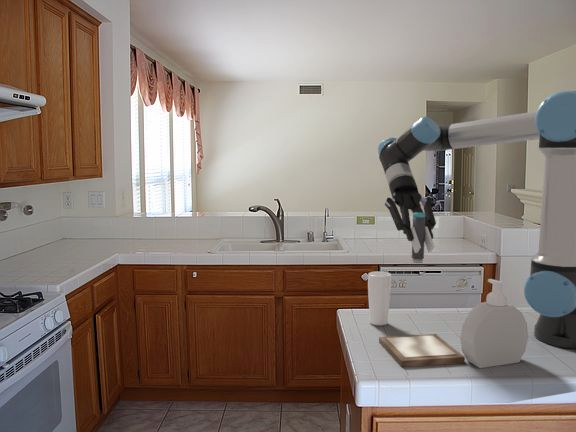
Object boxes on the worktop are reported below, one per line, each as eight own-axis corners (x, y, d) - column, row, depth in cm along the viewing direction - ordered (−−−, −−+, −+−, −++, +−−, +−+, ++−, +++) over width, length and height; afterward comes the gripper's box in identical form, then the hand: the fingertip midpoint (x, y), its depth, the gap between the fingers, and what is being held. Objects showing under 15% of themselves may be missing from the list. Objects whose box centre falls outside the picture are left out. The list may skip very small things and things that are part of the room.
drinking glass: (390, 327, 149) (391, 277, 147) (366, 326, 150) (367, 275, 148) (390, 320, 155) (391, 271, 153) (367, 318, 157) (368, 270, 155)
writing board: (435, 339, 140) (435, 333, 139) (464, 362, 124) (464, 356, 124) (378, 342, 137) (379, 336, 137) (401, 366, 121) (401, 360, 121)
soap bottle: (511, 353, 130) (516, 276, 127) (527, 361, 125) (532, 281, 122) (457, 361, 125) (461, 281, 123) (471, 370, 120) (475, 286, 118)
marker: (420, 260, 141) (422, 212, 139) (425, 263, 138) (427, 213, 136) (409, 261, 140) (411, 212, 139) (414, 263, 137) (416, 213, 136)
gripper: (423, 190, 153) (448, 256, 139) (371, 191, 150) (391, 258, 136) (432, 173, 147) (458, 240, 133) (378, 174, 144) (399, 242, 130)
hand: (424, 249), depth 135 cm, fingers closed on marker, 3 cm apart
